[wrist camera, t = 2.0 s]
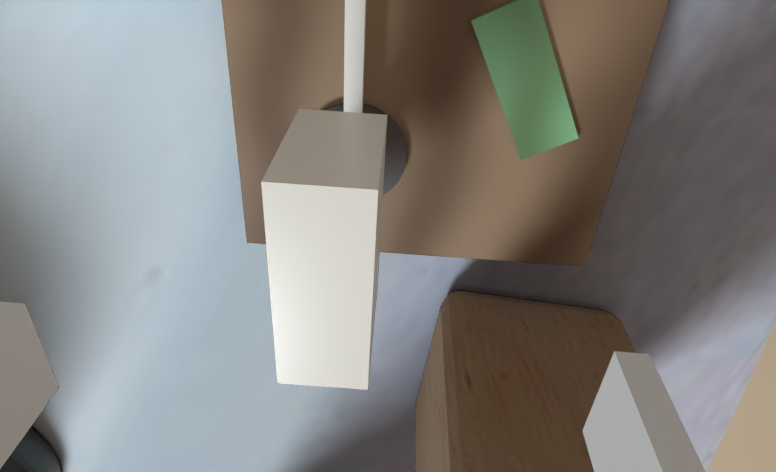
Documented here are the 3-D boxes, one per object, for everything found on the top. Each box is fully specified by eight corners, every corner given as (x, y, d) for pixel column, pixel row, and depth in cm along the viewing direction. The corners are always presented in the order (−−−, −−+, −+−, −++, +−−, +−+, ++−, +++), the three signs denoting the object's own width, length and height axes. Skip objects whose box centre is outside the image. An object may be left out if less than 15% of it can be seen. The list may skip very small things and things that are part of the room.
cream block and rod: (319, 229, 24) (277, 383, 17) (314, -138, 17) (233, -154, 9) (382, 233, 24) (367, 389, 17) (404, -131, 17) (395, -144, 9)
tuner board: (259, 216, 28) (245, 246, 25) (225, -176, 19) (199, -185, 17) (572, 238, 28) (586, 270, 25) (684, -146, 19) (720, -150, 16)
